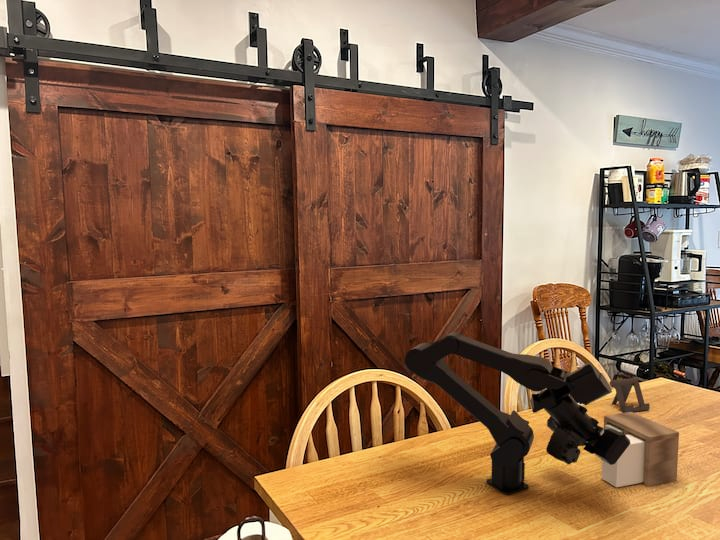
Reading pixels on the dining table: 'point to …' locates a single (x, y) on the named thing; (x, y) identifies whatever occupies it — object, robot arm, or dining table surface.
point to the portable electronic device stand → (623, 391)
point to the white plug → (627, 464)
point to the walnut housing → (650, 445)
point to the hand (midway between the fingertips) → (607, 455)
